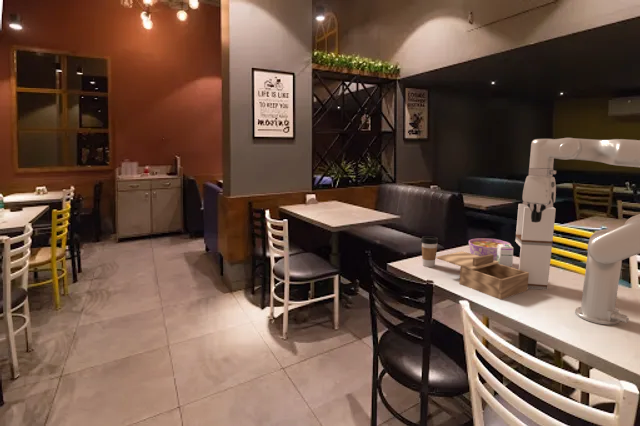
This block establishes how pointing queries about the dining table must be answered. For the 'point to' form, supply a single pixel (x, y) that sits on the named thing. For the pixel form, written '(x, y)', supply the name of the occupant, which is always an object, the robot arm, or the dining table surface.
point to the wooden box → (495, 280)
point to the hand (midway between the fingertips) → (535, 221)
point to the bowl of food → (485, 246)
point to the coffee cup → (429, 250)
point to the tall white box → (535, 245)
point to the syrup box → (505, 254)
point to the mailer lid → (469, 260)
